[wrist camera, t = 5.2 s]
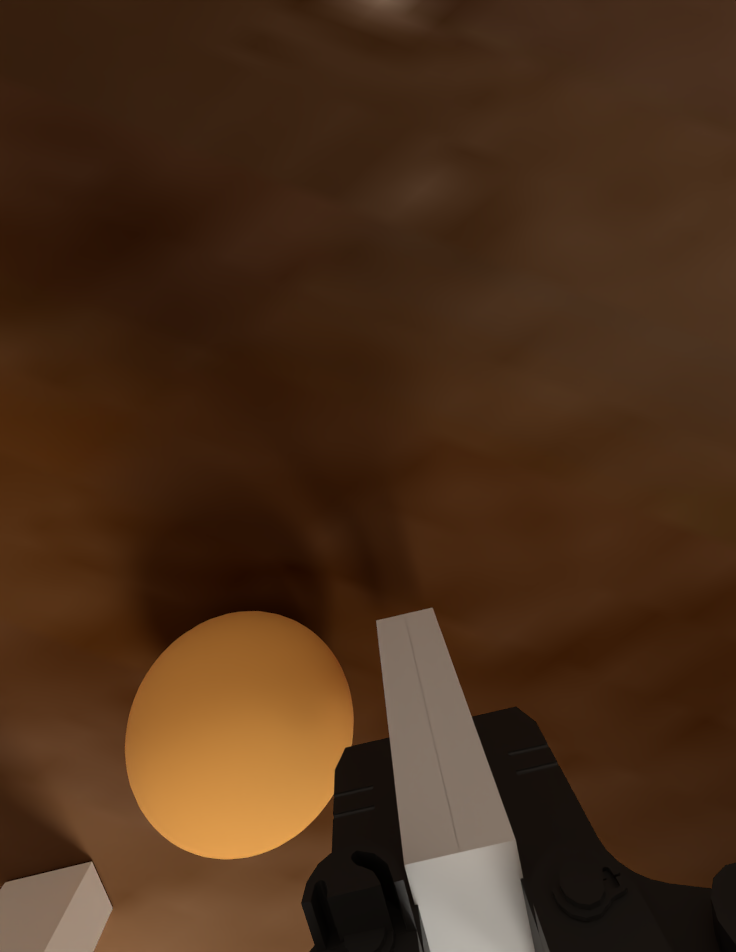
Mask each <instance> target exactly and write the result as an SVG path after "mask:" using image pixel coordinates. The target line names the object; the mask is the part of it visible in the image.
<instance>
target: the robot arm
mask: <svg viewBox="0 0 736 952" xmlns="http://www.w3.org/2000/svg"><path fill="white" fill-rule="evenodd" d="M376 624H377V632H378V641H379V650H380V659H381V667H382V676H383V685H384V694H385V702H386V711H387V720H388V728H389V738H385V739H381V740H376V741H372V742H368V743H363V744H359V745H354V746H350V747H346V748H345V749H344V752H343V754H342V756H341V758H340V760H339V762H338V764H337V766H336V768H335V776H334V798H335V799H334V807H333V815H334V819H333V838H332V853H331V854H330V855H328V856H327V857H326V858H325V859H324V860H323V861H321V862H320V863H319V864H318V865H317V867H316V868H315V870H314V872H313V873H312V875H311V876H310V878H309V880H308V881H307V883H306V887H305V891H304V895H303V898H302V902H301V904H302V907H303V910H304V913H305V916H306V920H307V923H308V926H309V929H310V932H311V935H312V938H313V941H314V944H315V945H314V947H313V948H312V949H311V950H310V952H736V863H732V864H729V865H725V866H724V867H723V868H722V870H721V871H720V872H719V873H718V874H717V875H716V876H715V877H714V878H713V884H712V889H711V888H702V887H694V886H686V885H677V884H669V883H664V882H660V881H656V880H651V879H649V878H646V877H644V876H642V875H639V874H637V873H635V872H633V871H631V870H630V869H628V868H627V867H625V866H624V865H622V864H621V863H619V862H618V861H617V860H616V859H615V858H614V857H613V856H612V855H611V854H610V853H609V852H608V851H607V850H606V849H605V847H604V846H603V845H602V843H601V842H600V840H599V839H598V837H597V835H596V833H595V832H594V830H593V828H592V826H591V824H590V822H589V820H588V818H587V817H586V815H585V813H584V811H583V809H582V807H581V805H580V804H579V802H578V800H577V798H576V796H575V794H574V792H573V790H572V789H571V787H570V785H569V783H568V781H567V779H566V777H565V776H564V774H563V772H562V770H561V768H560V766H558V764H557V761H556V759H555V757H554V755H553V753H552V751H551V749H550V748H549V747H548V744H547V742H546V740H545V738H544V736H543V734H542V733H541V731H540V729H539V727H538V725H537V723H536V722H535V721H534V720H533V719H531V718H530V717H529V716H528V715H526V714H525V713H524V712H522V711H521V710H520V709H519V708H517V707H513V708H508V709H504V710H499V711H495V712H491V713H486V714H482V715H478V716H473V717H472V716H471V714H470V711H469V708H468V705H467V703H466V700H465V697H464V694H463V691H462V689H461V686H460V683H459V680H458V677H457V675H456V672H455V669H454V666H453V663H452V661H451V658H450V655H449V652H448V649H447V647H446V644H445V641H444V638H443V635H442V633H441V630H440V627H439V624H438V622H437V619H436V616H435V613H434V610H433V608H429V609H424V610H420V611H415V612H411V613H407V614H402V615H398V616H394V617H389V618H385V619H381V620H376Z"/></svg>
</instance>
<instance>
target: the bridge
mask: <svg viewBox="0 0 736 952" xmlns="http://www.w3.org/2000/svg"><path fill="white" fill-rule="evenodd" d="M112 909H113V908H112V905H111V903H110V901H109V899H108V896H107V894H106V892H105V890H104V887H103V885H102V883H101V881H100V878H99V876H98V874H97V872H96V869H95V867H94V865H93V863H92V862H87V863H83V864H79V865H75V866H71V867H67V868H63V869H58V870H54V871H50V872H46V873H42V874H38V875H34V876H29V877H25V878H21V879H17V880H13V881H9V882H5V883H4V885H3V886H2V888H1V889H0V952H93V951H94V949H95V947H96V945H97V942H98V940H99V938H100V936H101V933H102V931H103V929H104V927H105V925H106V922H107V920H108V918H109V916H110V913H111V911H112Z"/></svg>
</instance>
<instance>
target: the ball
mask: <svg viewBox="0 0 736 952" xmlns="http://www.w3.org/2000/svg"><path fill="white" fill-rule="evenodd" d="M353 725H354V715H353V705H352V699H351V693H350V689H349V685H348V682H347V680H346V677H345V675H344V672H343V670H342V668H341V665H340V664H339V662H338V660H337V659H336V657H335V656H334V654H333V653H332V651H331V650H330V649H329V647H328V646H327V645H326V644H325V643H324V642H323V641H322V640H321V639H320V638H319V637H318V636H317V635H316V634H315V633H314V632H312V631H311V630H310V629H308V628H307V627H305V626H304V625H302V624H300V623H298V622H297V621H295V620H292V619H290V618H287V617H284V616H282V615H279V614H274V613H268V612H262V611H241V612H234V613H228V614H225V615H221V616H218V617H215V618H212V619H209V620H207V621H205V622H203V623H201V624H199V625H197V626H195V627H194V628H192V629H191V630H189V631H187V632H186V633H184V634H183V635H182V636H180V637H179V638H178V639H176V640H175V641H174V642H173V643H172V644H171V645H170V646H169V647H168V648H167V649H166V650H165V651H164V652H163V653H162V654H161V655H160V656H159V657H158V659H157V660H156V661H155V662H154V664H153V665H152V667H151V668H150V669H149V671H148V672H147V674H146V676H145V677H144V679H143V681H142V683H141V685H140V687H139V689H138V691H137V693H136V696H135V698H134V701H133V704H132V707H131V710H130V714H129V718H128V724H127V729H126V738H125V759H126V768H127V774H128V778H129V782H130V787H131V789H132V791H133V794H134V796H135V798H136V801H137V803H138V805H139V808H140V809H141V811H142V812H143V814H144V815H145V817H146V818H147V819H148V821H149V822H150V823H151V825H152V826H153V827H154V828H155V829H156V830H157V831H158V832H159V833H160V834H161V835H162V836H163V837H165V838H166V839H167V840H169V841H170V842H171V843H173V844H175V845H176V846H178V847H180V848H181V849H183V850H186V851H188V852H191V853H193V854H196V855H199V856H202V857H208V858H215V859H225V860H226V859H237V858H248V857H251V856H255V855H258V854H261V853H264V852H267V851H270V850H272V849H274V848H277V847H279V846H280V845H282V844H284V843H285V842H287V841H288V840H290V839H292V838H293V837H295V836H296V835H298V834H299V833H300V832H301V831H303V830H304V829H305V828H306V827H307V826H308V825H309V824H310V823H311V822H312V821H313V820H314V819H315V818H316V817H317V816H318V815H319V813H320V812H321V811H322V810H323V809H324V807H325V806H326V805H327V803H328V802H329V801H330V799H331V797H332V796H333V794H334V776H335V768H336V766H337V764H338V762H339V760H340V758H341V756H342V754H343V752H344V749H345V748H346V747H350V746H352V739H353Z"/></svg>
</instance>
